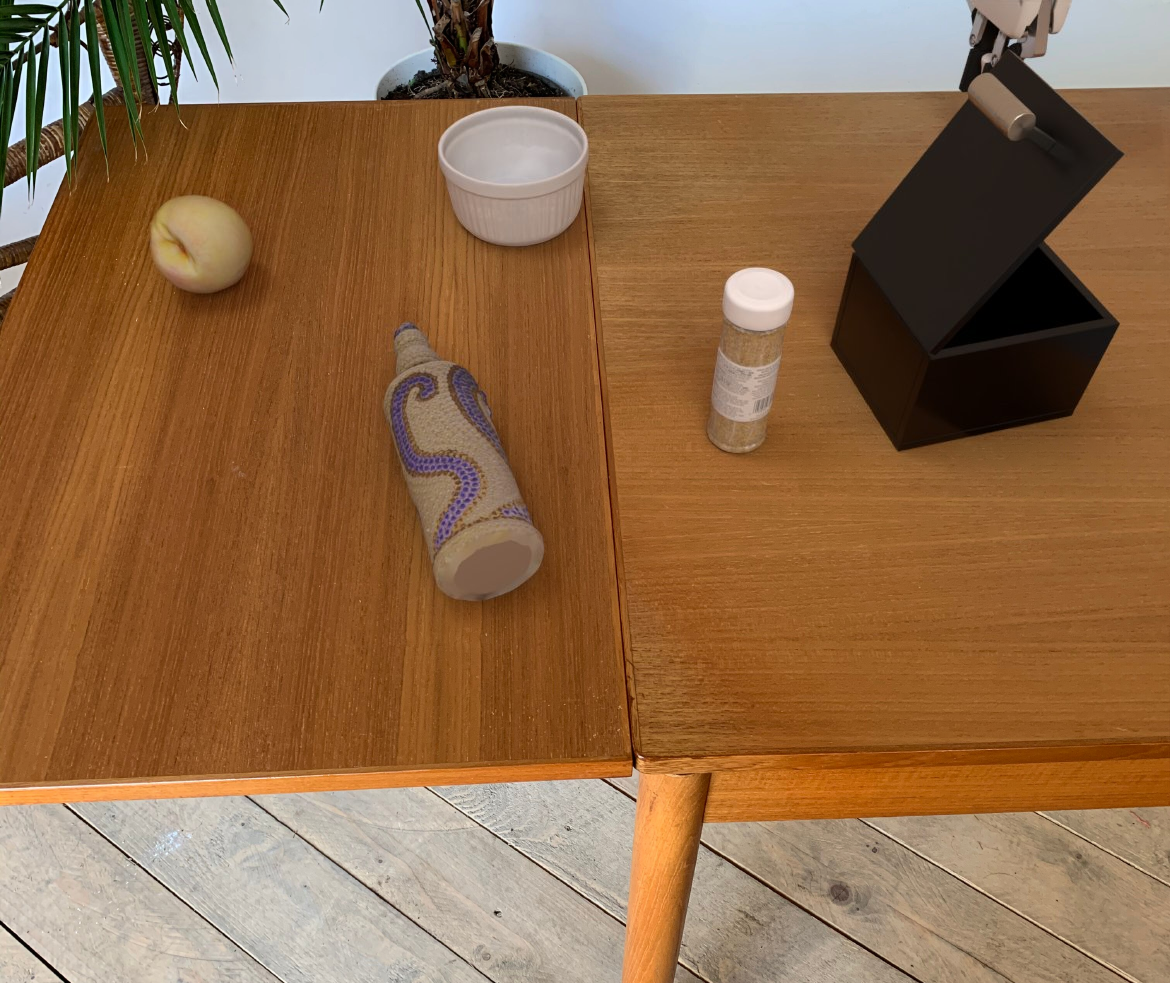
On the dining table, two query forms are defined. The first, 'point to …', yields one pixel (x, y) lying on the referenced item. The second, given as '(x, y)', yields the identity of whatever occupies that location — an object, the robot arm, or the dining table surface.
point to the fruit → (200, 244)
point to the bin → (975, 355)
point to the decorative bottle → (458, 475)
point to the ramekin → (515, 173)
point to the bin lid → (982, 199)
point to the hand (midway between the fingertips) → (981, 95)
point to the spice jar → (748, 357)
